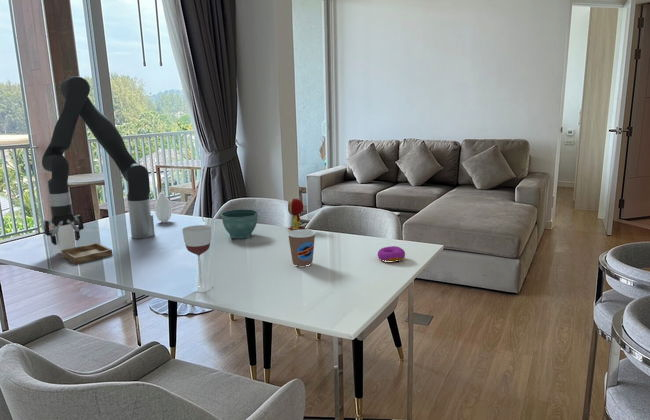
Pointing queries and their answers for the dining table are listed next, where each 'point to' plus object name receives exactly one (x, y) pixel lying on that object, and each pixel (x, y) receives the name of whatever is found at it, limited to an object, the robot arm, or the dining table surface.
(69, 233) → the can
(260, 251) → the dining table surface
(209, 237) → the wineglass
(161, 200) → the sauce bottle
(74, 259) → the tray
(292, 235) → the coffee cup
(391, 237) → the dining table surface
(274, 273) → the dining table surface
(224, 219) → the teal green bowl
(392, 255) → the donut
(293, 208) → the figurine
